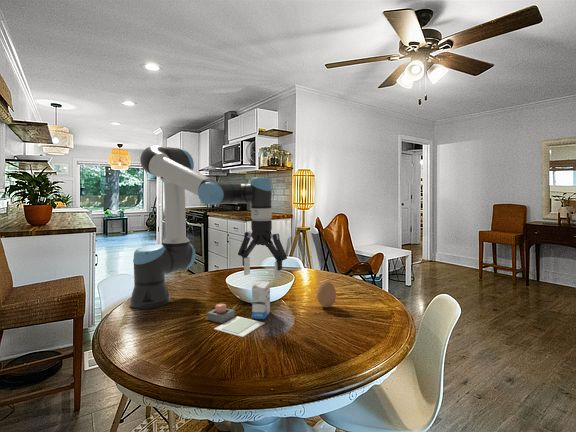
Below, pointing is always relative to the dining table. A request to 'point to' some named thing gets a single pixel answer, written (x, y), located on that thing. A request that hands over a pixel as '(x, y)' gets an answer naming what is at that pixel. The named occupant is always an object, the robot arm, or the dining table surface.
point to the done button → (221, 308)
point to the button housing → (220, 315)
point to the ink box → (260, 300)
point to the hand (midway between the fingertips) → (261, 276)
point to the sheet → (239, 326)
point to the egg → (326, 294)
